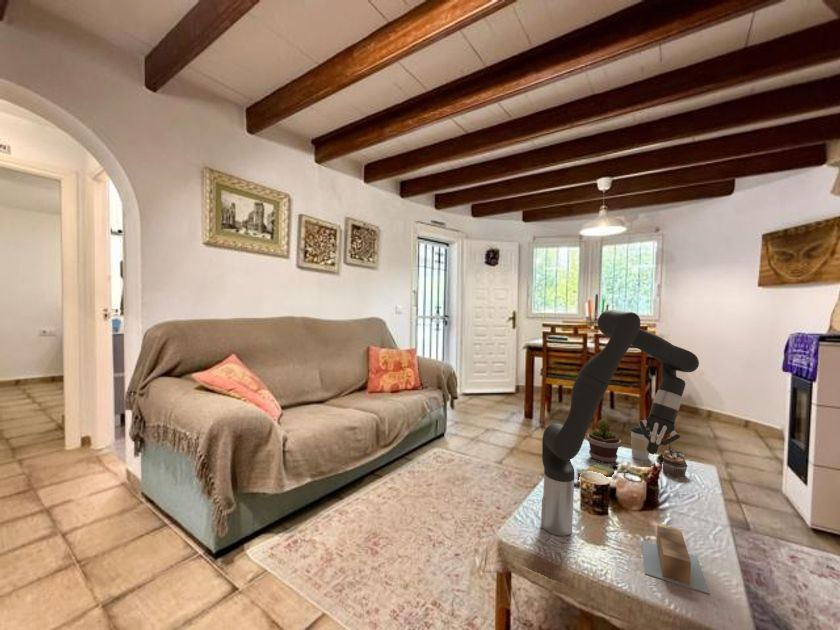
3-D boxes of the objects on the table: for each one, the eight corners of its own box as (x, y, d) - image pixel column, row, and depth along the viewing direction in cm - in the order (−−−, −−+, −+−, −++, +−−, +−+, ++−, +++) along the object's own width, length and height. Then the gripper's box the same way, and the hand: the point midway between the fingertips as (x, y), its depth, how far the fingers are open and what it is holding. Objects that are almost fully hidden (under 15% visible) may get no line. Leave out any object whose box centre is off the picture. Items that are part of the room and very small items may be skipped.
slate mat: (645, 574, 100) (645, 573, 100) (641, 541, 114) (641, 540, 114) (709, 594, 93) (709, 593, 93) (696, 556, 107) (697, 555, 107)
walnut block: (656, 542, 113) (662, 576, 99) (657, 523, 113) (663, 554, 99) (679, 549, 110) (689, 584, 96) (680, 529, 110) (691, 562, 96)
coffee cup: (630, 451, 186) (631, 422, 185) (651, 456, 180) (653, 426, 180) (628, 457, 178) (629, 427, 178) (650, 462, 173) (651, 431, 173)
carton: (576, 482, 152) (577, 471, 152) (596, 472, 162) (596, 462, 162) (596, 490, 146) (597, 479, 146) (615, 479, 155) (616, 469, 155)
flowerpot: (619, 469, 165) (621, 425, 164) (582, 460, 173) (584, 418, 173) (622, 458, 177) (624, 417, 176) (587, 450, 185) (589, 411, 185)
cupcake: (655, 471, 164) (657, 448, 164) (668, 467, 169) (669, 445, 168) (679, 480, 156) (680, 457, 155) (691, 476, 160) (692, 453, 160)
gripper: (646, 398, 127) (630, 446, 126) (691, 413, 121) (675, 464, 120) (642, 398, 134) (628, 444, 132) (685, 413, 128) (670, 460, 127)
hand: (650, 453), depth 126 cm, fingers closed
